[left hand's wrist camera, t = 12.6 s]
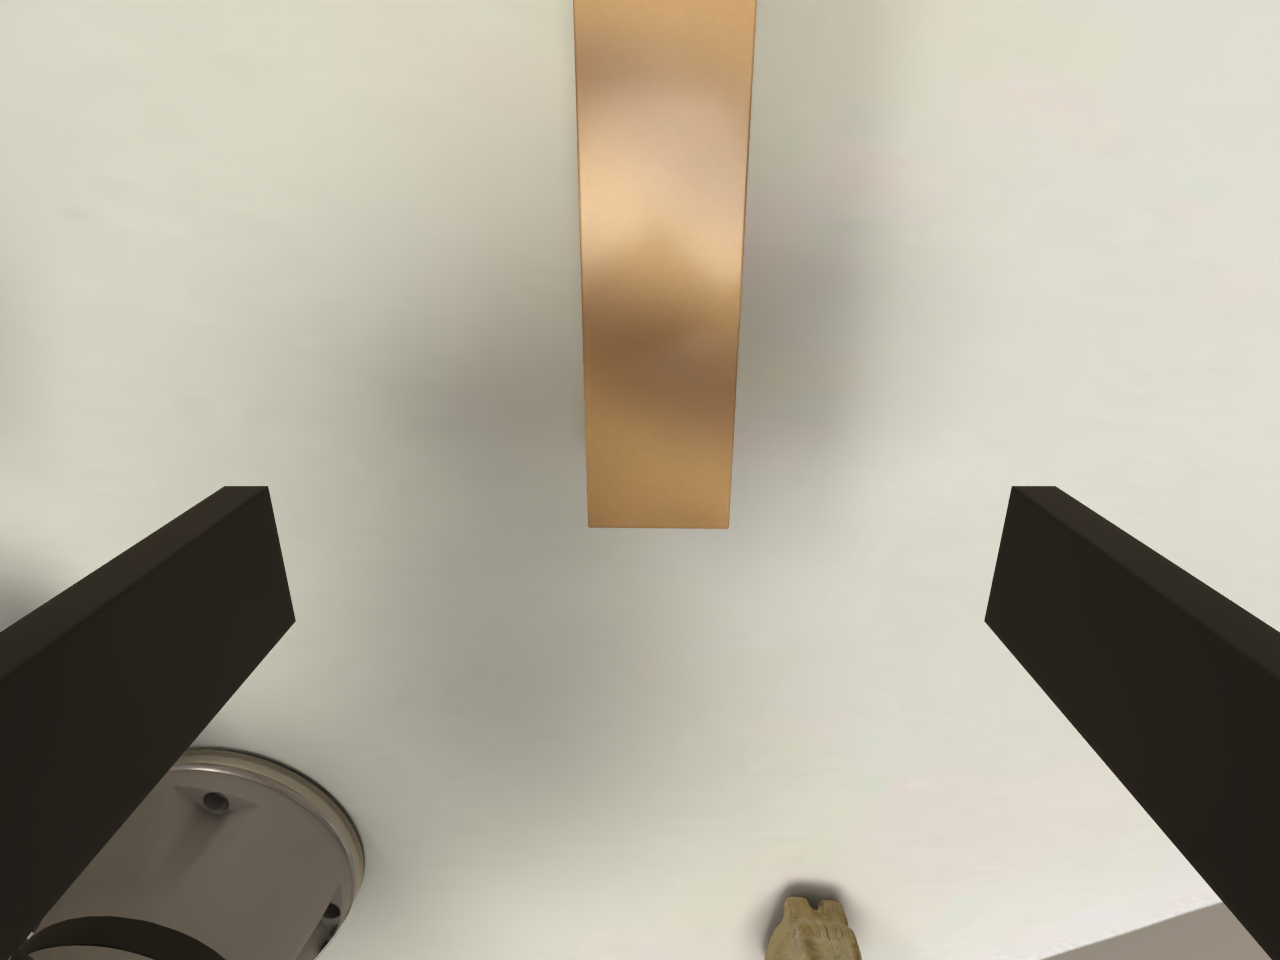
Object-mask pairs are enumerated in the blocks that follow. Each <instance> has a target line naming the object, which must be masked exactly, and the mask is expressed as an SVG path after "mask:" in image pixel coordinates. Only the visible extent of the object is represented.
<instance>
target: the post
mask: <svg viewBox="0 0 1280 960" xmlns="http://www.w3.org/2000/svg"><path fill="white" fill-rule="evenodd" d="M756 4H757V0H573V7H574V42H575V77H576V113H577V148H578V183H579V218H580V254H581V289H582V324H583V360H584V395H585V430H586V465H587V501H588V526H589V527H598V528H708V529H728V528H729V513H730V494H731V475H732V456H733V438H734V419H735V400H736V381H737V362H738V343H739V325H740V306H741V287H742V268H743V249H744V230H745V211H746V193H747V174H748V155H749V136H750V117H751V98H752V80H753V61H754V42H755V23H756Z"/></svg>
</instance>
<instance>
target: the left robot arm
mask: <svg viewBox="0 0 1280 960" xmlns="http://www.w3.org/2000/svg"><path fill="white" fill-rule="evenodd" d="M294 622H295V616H294V611H293V606H292V601H291V596H290V591H289V586H288V582H287V577H286V572H285V567H284V562H283V557H282V552H281V547H280V542H279V538H278V533H277V528H276V523H275V518H274V513H273V508H272V503H271V498H270V494H269V489H268V486H224V487H223V488H221V489H220V490H218V491H217V492H215V493H214V494H212V495H211V496H209V497H207V498H206V499H204V500H203V501H201V502H200V503H198V504H197V505H195V506H194V507H192V508H191V509H189V510H187V511H186V512H184V513H183V514H181V515H180V516H178V517H177V518H175V519H174V520H172V521H171V522H169V523H168V524H166V525H164V526H163V527H161V528H160V529H158V530H157V531H155V532H154V533H152V534H151V535H149V536H148V537H146V538H145V539H143V540H141V541H140V542H138V543H137V544H135V545H134V546H132V547H131V548H129V549H128V550H126V551H125V552H123V553H121V554H120V555H118V556H117V557H115V558H114V559H112V560H111V561H109V562H108V563H106V564H105V565H103V566H102V567H100V568H98V569H97V570H95V571H94V572H92V573H91V574H89V575H88V576H86V577H85V578H83V579H82V580H80V581H79V582H77V583H75V584H74V585H72V586H71V587H69V588H68V589H66V590H65V591H63V592H62V593H60V594H59V595H57V596H55V597H54V598H52V599H51V600H49V601H48V602H46V603H45V604H43V605H42V606H40V607H39V608H37V609H36V610H34V611H32V612H31V613H29V614H28V615H26V616H25V617H23V618H22V619H20V620H19V621H17V622H16V623H14V624H13V625H11V626H9V627H8V628H6V629H5V630H3V631H2V632H0V960H314V959H315V958H316V956H317V955H318V954H319V953H320V952H321V950H322V949H323V948H324V947H325V946H326V945H327V943H328V942H329V941H330V940H331V939H332V937H333V936H334V935H335V933H336V932H337V931H338V929H339V928H340V926H341V924H342V923H343V922H344V920H345V918H346V917H347V915H348V913H349V911H350V908H351V906H352V904H353V901H354V899H355V897H356V894H357V892H358V890H359V887H360V885H361V881H362V877H363V868H364V865H363V854H362V848H361V845H360V842H359V839H358V837H357V834H356V832H355V830H354V828H353V827H352V825H351V823H350V821H349V820H348V818H347V817H346V816H345V814H344V813H343V812H342V810H341V809H340V808H339V807H338V806H337V805H336V804H335V803H334V802H333V801H332V800H331V799H330V798H329V797H328V796H327V795H326V794H325V793H324V792H322V791H321V790H320V789H319V788H318V787H316V786H315V785H313V784H312V783H311V782H309V781H308V780H306V779H305V778H303V777H301V776H299V775H298V774H296V773H294V772H292V771H290V770H288V769H286V768H284V767H282V766H280V765H277V764H275V763H272V762H270V761H267V760H264V759H261V758H258V757H254V756H250V755H246V754H242V753H237V752H231V751H223V750H204V749H202V750H187V751H186V749H187V748H188V747H189V746H190V745H191V744H192V742H193V741H194V740H195V739H196V738H197V737H198V735H199V734H200V733H201V732H202V731H203V729H204V728H205V727H206V726H207V725H208V724H209V722H210V721H211V720H212V719H213V718H214V717H215V715H216V714H217V713H218V712H219V711H220V709H221V708H222V707H223V706H224V705H225V704H226V702H227V701H228V700H229V699H230V698H231V697H232V695H233V694H234V693H235V692H236V691H237V689H238V688H239V687H240V686H241V685H242V684H243V682H244V681H245V680H246V679H247V678H248V676H249V675H250V674H251V673H252V672H253V671H254V669H255V668H256V667H257V666H258V665H259V664H260V662H261V661H262V660H263V659H264V658H265V656H266V655H267V654H268V653H269V652H270V651H271V649H272V648H273V647H274V646H275V645H276V644H277V642H278V641H279V640H280V639H281V638H282V636H283V635H284V634H285V633H286V632H287V631H288V629H289V628H290V627H291V626H292V625H293V624H294ZM985 622H986V624H987V625H988V626H989V627H990V628H991V629H992V631H993V632H994V633H995V634H996V635H997V636H998V638H999V639H1000V640H1001V641H1002V642H1003V644H1004V645H1005V646H1006V647H1007V648H1008V649H1009V651H1010V652H1011V653H1012V654H1013V655H1014V656H1015V658H1016V659H1017V660H1018V661H1019V662H1020V664H1021V665H1022V666H1023V667H1024V668H1025V669H1026V671H1027V672H1028V673H1029V674H1030V675H1031V677H1032V678H1033V679H1034V680H1035V681H1036V682H1037V684H1038V685H1039V686H1040V687H1041V688H1042V689H1043V691H1044V692H1045V693H1046V694H1047V695H1048V697H1049V698H1050V699H1051V700H1052V701H1053V702H1054V704H1055V705H1056V706H1057V707H1058V708H1059V709H1060V711H1061V712H1062V713H1063V714H1064V715H1065V717H1066V718H1067V719H1068V720H1069V721H1070V722H1071V724H1072V725H1073V726H1074V727H1075V728H1076V729H1077V731H1078V732H1079V733H1080V734H1081V735H1082V737H1083V738H1084V739H1085V740H1086V741H1087V742H1088V744H1089V745H1090V746H1091V747H1092V748H1093V749H1094V751H1095V752H1096V753H1097V754H1098V755H1099V757H1100V758H1101V759H1102V760H1103V761H1104V762H1105V764H1106V765H1107V766H1108V767H1109V768H1110V769H1111V771H1112V772H1113V773H1114V774H1115V775H1116V777H1117V778H1118V779H1119V780H1120V781H1121V782H1122V784H1123V785H1124V786H1125V787H1126V788H1127V789H1128V791H1129V792H1130V793H1131V794H1132V795H1133V797H1134V798H1135V799H1136V800H1137V801H1138V802H1139V804H1140V805H1141V806H1142V807H1143V808H1144V810H1145V811H1146V812H1147V813H1148V814H1149V815H1150V817H1151V818H1152V819H1153V820H1154V821H1155V822H1156V824H1157V825H1158V826H1159V827H1160V828H1161V830H1162V831H1163V832H1164V833H1165V834H1166V835H1167V837H1168V838H1169V839H1170V840H1171V841H1172V842H1173V844H1174V845H1175V846H1176V847H1177V848H1178V850H1179V851H1180V852H1181V853H1182V854H1183V855H1184V857H1185V858H1186V859H1187V860H1188V861H1189V862H1190V864H1191V865H1192V866H1193V867H1194V868H1195V870H1196V871H1197V872H1198V873H1199V874H1200V875H1201V877H1202V878H1203V879H1204V880H1205V881H1206V882H1207V884H1208V885H1209V886H1210V887H1211V888H1212V890H1213V891H1214V892H1215V893H1216V894H1217V895H1218V897H1219V898H1220V899H1221V900H1222V901H1223V902H1224V904H1225V905H1226V906H1227V907H1228V908H1229V910H1230V911H1231V912H1232V913H1233V914H1234V915H1235V917H1236V918H1237V919H1238V920H1239V921H1240V923H1241V924H1242V925H1243V926H1244V927H1245V928H1246V930H1247V931H1248V932H1249V933H1250V934H1251V935H1252V937H1253V938H1254V939H1255V940H1256V941H1257V942H1258V944H1259V945H1260V946H1261V947H1262V948H1263V949H1264V951H1265V952H1266V953H1267V954H1268V955H1269V957H1270V958H1271V959H1272V960H1280V632H1278V631H1277V630H1275V629H1274V628H1272V627H1271V626H1269V625H1267V624H1266V623H1264V622H1263V621H1261V620H1260V619H1258V618H1257V617H1255V616H1254V615H1252V614H1251V613H1249V612H1248V611H1246V610H1244V609H1243V608H1241V607H1240V606H1238V605H1237V604H1235V603H1234V602H1232V601H1231V600H1229V599H1228V598H1226V597H1225V596H1223V595H1221V594H1220V593H1218V592H1217V591H1215V590H1214V589H1212V588H1211V587H1209V586H1208V585H1206V584H1205V583H1203V582H1201V581H1200V580H1198V579H1197V578H1195V577H1194V576H1192V575H1191V574H1189V573H1188V572H1186V571H1185V570H1183V569H1182V568H1180V567H1178V566H1177V565H1175V564H1174V563H1172V562H1171V561H1169V560H1168V559H1166V558H1165V557H1163V556H1162V555H1160V554H1159V553H1157V552H1155V551H1154V550H1152V549H1151V548H1149V547H1148V546H1146V545H1145V544H1143V543H1142V542H1140V541H1139V540H1137V539H1135V538H1134V537H1132V536H1131V535H1129V534H1128V533H1126V532H1125V531H1123V530H1122V529H1120V528H1119V527H1117V526H1116V525H1114V524H1112V523H1111V522H1109V521H1108V520H1106V519H1105V518H1103V517H1102V516H1100V515H1099V514H1097V513H1096V512H1094V511H1093V510H1091V509H1089V508H1088V507H1086V506H1085V505H1083V504H1082V503H1080V502H1079V501H1077V500H1076V499H1074V498H1073V497H1071V496H1069V495H1068V494H1066V493H1065V492H1063V491H1062V490H1060V489H1059V488H1057V487H1056V486H1012V489H1011V494H1010V498H1009V503H1008V508H1007V513H1006V518H1005V523H1004V528H1003V533H1002V538H1001V542H1000V547H999V552H998V557H997V562H996V567H995V572H994V577H993V582H992V586H991V591H990V596H989V601H988V606H987V611H986V616H985ZM341 930H342V929H341ZM31 932H33V933H34V934H33V935H32V936H31V937H30V939H29V940H28V941H27V942H26V943H25V945H24V946H23V947H22V948H21V949H19V948H18V947H19V946H20V945H21V944H22V943H23V941H24V940H25V939H26V938H27V937H28V935H29V934H30V933H31ZM335 937H336V936H335ZM330 943H331V942H330ZM330 943H329V944H330ZM324 950H325V949H324ZM324 950H323V951H324ZM318 957H319V956H318ZM318 957H317V958H318Z"/></svg>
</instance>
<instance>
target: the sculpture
mask: <svg viewBox="0 0 1280 960" xmlns="http://www.w3.org/2000/svg"><path fill="white" fill-rule="evenodd" d="M783 908H784V916H783V919H782V921H781V923H780V924H779V925H778V926H777V927H776V928H775V930H774V932H773V934H772V935H771V937H770V941H769V943H768V945H767V949H766V954H765V960H862V958H861V954H860V950H859V947H858V943H857V940H856V937H855V935H854V932H853V931H852V930H851V929H850V928H849V927H848V922H847V918H846V916H845V913H844V910H843V907H842V905H841V903H840V902H839V901H832V900H822V901H820V902H819V904H818V910H815V909H813V908H812V907H811V906H810V904H809V903H808V901H807V899H806V898H803V897H788V898H787V899H786V900H785V903H784V906H783Z"/></svg>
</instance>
